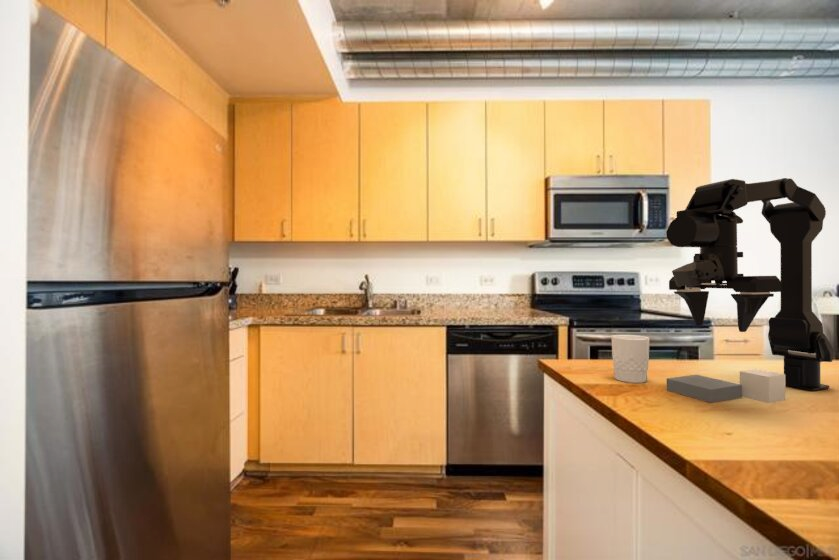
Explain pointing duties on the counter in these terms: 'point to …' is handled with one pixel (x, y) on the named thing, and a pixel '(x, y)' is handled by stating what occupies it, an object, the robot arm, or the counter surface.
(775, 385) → the cube
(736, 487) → the counter surface
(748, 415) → the counter surface
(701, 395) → the base
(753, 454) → the counter surface
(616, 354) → the white cup
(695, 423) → the counter surface
